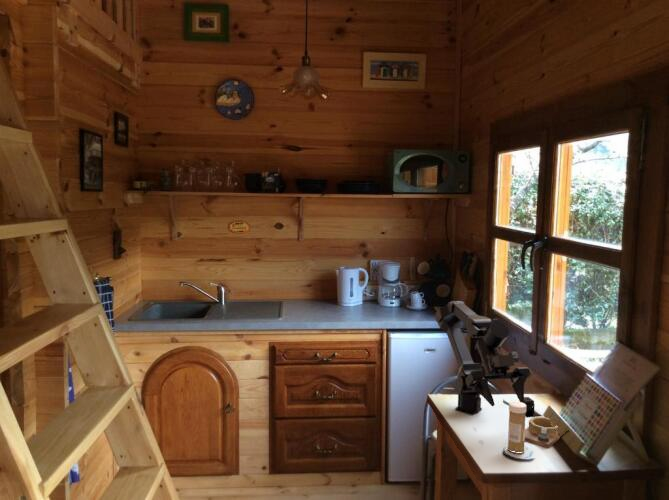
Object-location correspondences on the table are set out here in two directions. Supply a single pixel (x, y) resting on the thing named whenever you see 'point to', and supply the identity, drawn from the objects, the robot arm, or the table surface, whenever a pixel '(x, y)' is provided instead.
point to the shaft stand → (541, 432)
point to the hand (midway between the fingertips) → (508, 404)
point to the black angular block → (530, 408)
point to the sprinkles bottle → (516, 426)
